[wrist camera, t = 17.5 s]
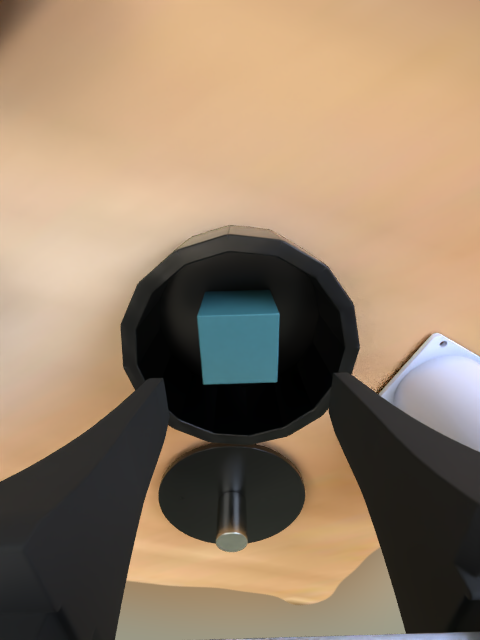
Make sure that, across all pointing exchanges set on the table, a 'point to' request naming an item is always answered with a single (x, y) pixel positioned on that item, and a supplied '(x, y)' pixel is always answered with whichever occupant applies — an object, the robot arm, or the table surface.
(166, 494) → the lid
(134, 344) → the black round container
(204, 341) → the block
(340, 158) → the table surface
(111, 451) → the robot arm
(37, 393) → the table surface
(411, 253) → the table surface
